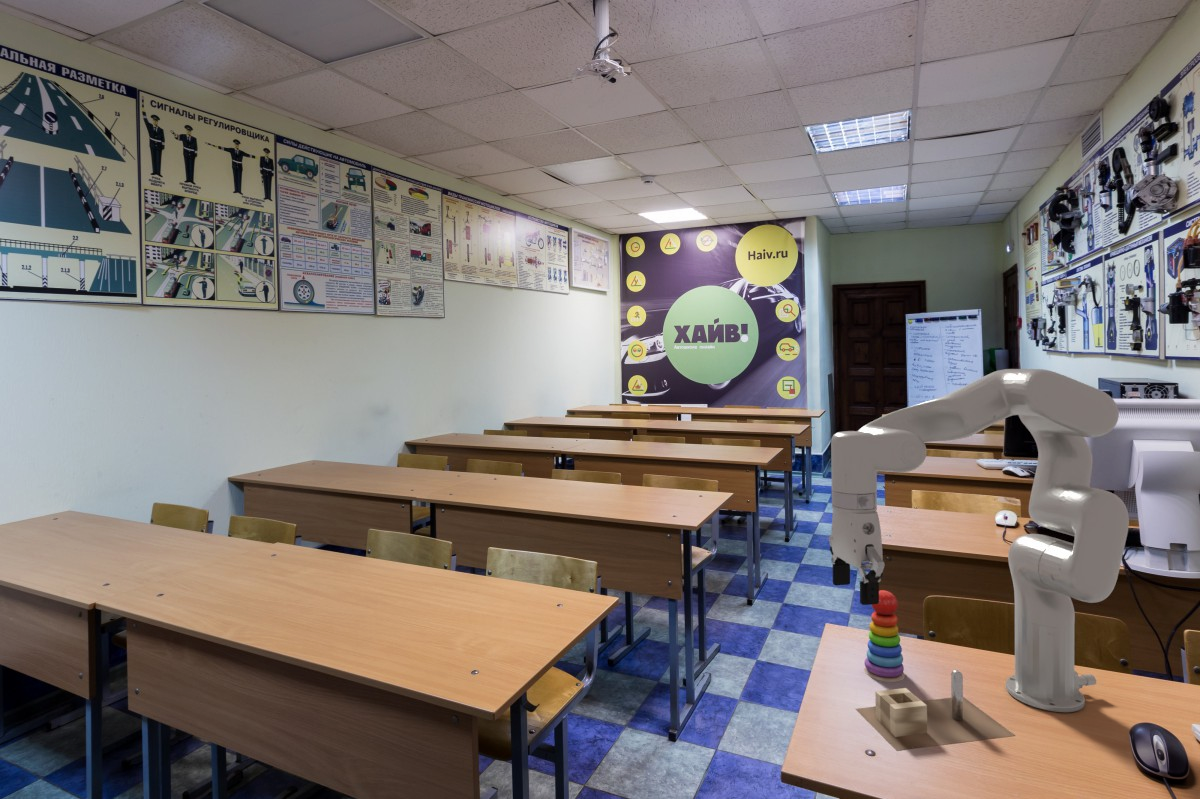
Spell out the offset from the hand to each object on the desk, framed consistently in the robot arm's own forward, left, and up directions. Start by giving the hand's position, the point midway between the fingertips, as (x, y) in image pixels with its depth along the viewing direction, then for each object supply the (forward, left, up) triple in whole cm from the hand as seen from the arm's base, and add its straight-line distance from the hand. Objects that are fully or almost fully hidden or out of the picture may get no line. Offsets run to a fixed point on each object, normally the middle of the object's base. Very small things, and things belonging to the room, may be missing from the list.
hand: (854, 593), depth 113 cm
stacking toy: (-15, -15, -25) cm, 33 cm away
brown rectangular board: (-13, +3, -25) cm, 28 cm away
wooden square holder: (-7, +3, -23) cm, 25 cm away
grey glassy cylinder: (-18, +3, -23) cm, 29 cm away
